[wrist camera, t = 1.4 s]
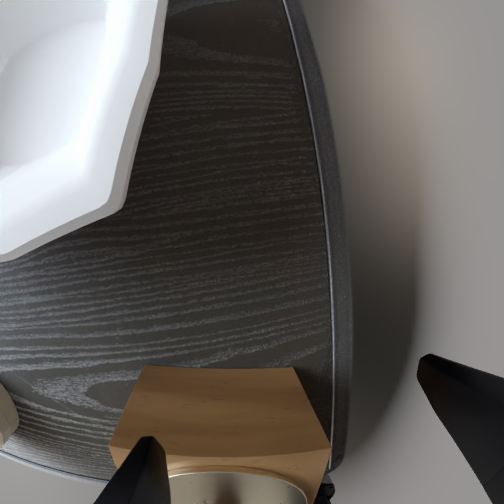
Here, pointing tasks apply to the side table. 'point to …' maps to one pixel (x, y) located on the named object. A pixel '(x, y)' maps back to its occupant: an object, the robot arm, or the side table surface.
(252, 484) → the lid
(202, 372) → the stand
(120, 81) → the bowl
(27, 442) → the side table surface
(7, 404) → the pot
